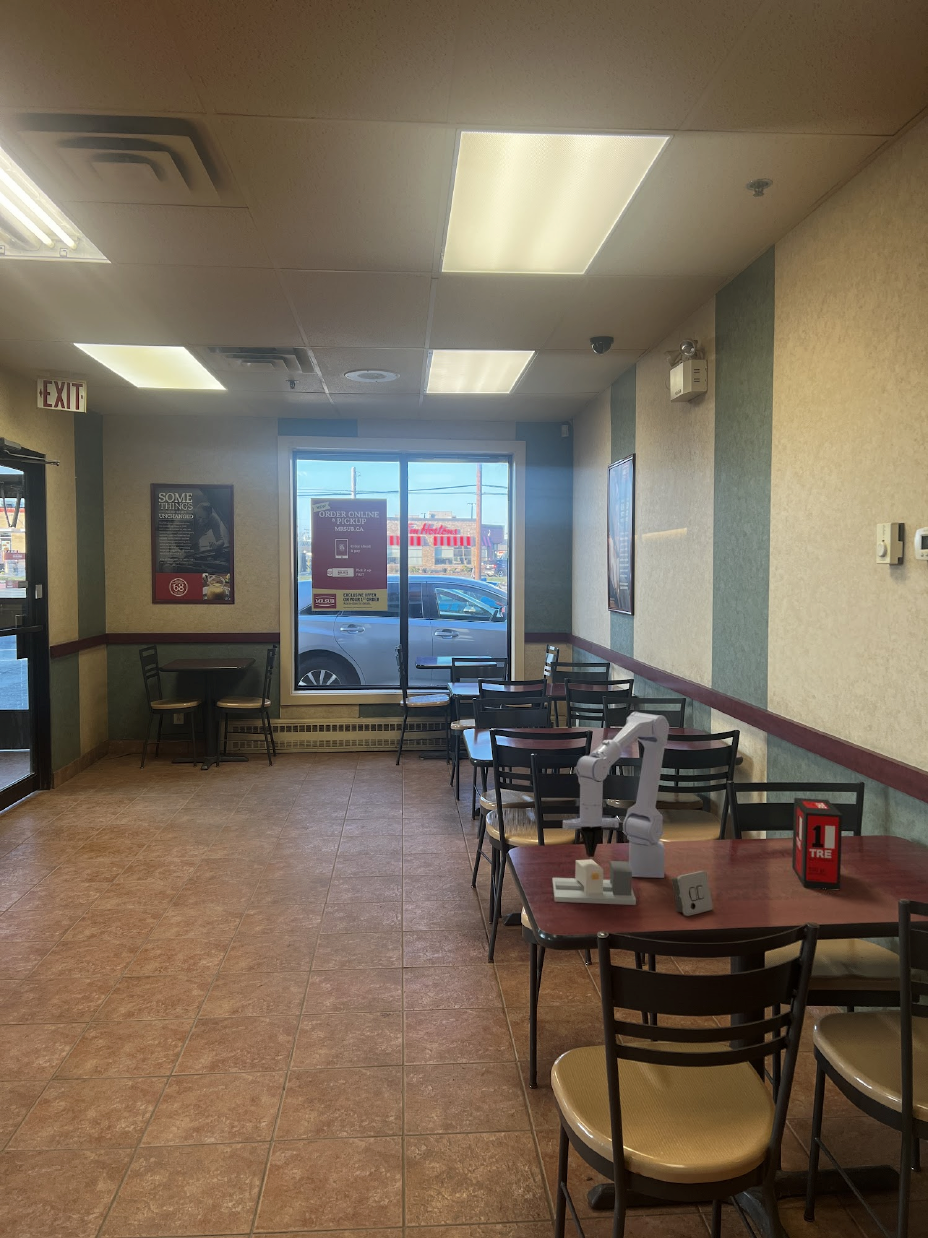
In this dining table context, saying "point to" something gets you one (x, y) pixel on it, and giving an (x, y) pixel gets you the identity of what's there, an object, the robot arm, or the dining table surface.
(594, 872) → the block
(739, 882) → the dining table surface
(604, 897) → the rail plate
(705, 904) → the electrical switch
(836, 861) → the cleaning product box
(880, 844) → the dining table surface
